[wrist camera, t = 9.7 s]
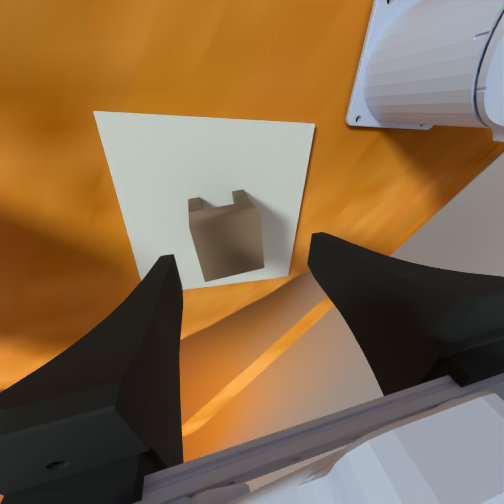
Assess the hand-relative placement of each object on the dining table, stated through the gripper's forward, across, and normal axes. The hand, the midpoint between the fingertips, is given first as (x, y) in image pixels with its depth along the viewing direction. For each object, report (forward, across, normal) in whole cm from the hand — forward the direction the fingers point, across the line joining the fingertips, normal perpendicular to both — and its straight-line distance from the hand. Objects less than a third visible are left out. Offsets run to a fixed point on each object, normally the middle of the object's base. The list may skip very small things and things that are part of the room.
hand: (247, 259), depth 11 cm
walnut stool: (+10, 0, +2) cm, 10 cm away
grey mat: (+10, 0, +2) cm, 10 cm away
